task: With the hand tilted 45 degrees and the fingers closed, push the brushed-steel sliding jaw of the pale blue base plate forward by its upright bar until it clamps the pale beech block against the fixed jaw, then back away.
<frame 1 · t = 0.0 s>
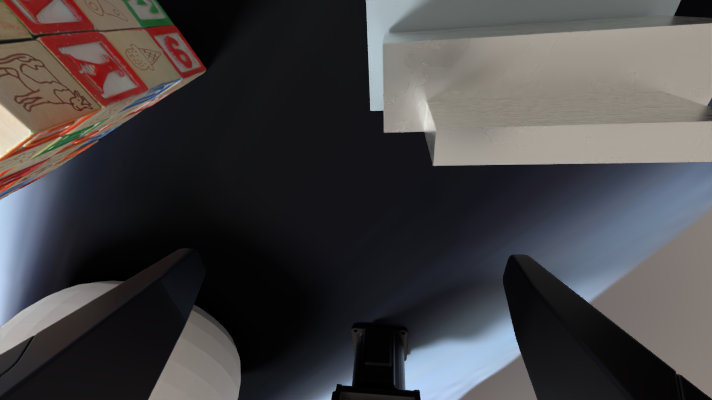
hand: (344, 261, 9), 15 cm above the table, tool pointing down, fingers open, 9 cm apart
sliding jaw: (536, 81, 14), point 6 cm above the table, slide at 0.0 cm
stack of blocks: (82, 96, 23), on the table
pot: (160, 330, 41), on the table
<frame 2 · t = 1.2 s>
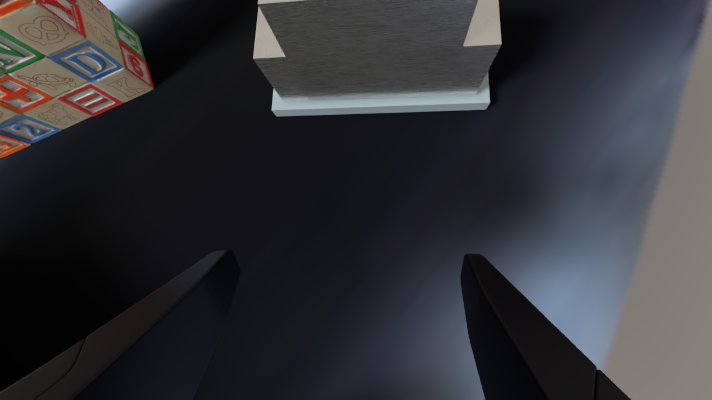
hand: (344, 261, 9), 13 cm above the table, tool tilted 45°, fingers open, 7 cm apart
sliding jaw: (372, 29, 18), point 6 cm above the table, slide at 0.0 cm
stack of blocks: (46, 111, 27), on the table
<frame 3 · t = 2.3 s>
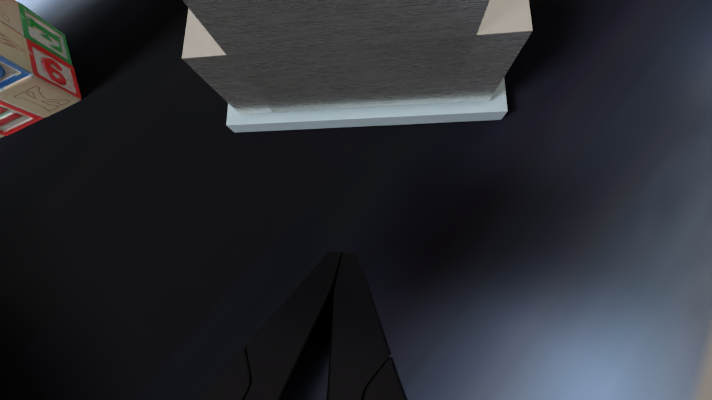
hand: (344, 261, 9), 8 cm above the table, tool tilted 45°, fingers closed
sliding jaw: (348, 15, 13), point 6 cm above the table, slide at 0.0 cm
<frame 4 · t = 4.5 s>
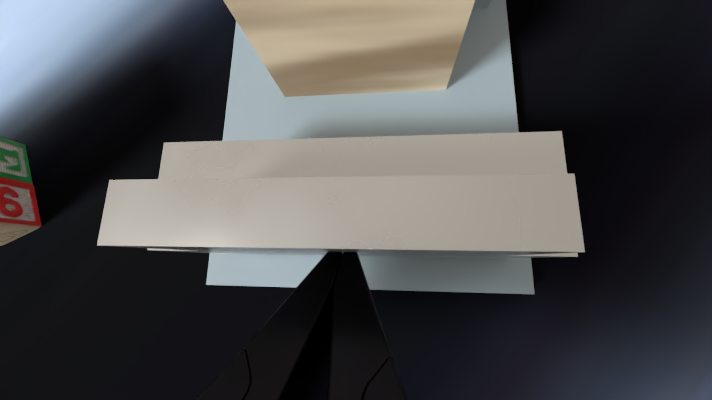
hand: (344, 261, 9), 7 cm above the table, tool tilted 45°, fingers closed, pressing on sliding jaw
beech block: (363, 61, 17), point 1 cm above the table, touching pale blue base plate
sliding jaw: (349, 197, 11), point 6 cm above the table, slide at 1.1 cm, touching gripper
pale blue base plate: (364, 102, 18), on the table
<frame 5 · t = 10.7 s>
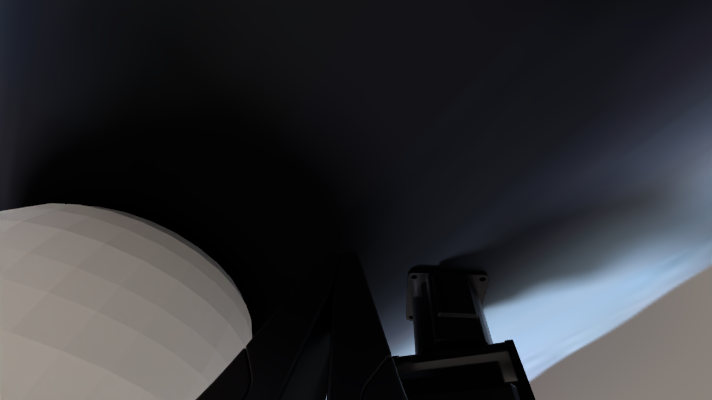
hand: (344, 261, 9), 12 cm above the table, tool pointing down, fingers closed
pot: (145, 287, 31), on the table
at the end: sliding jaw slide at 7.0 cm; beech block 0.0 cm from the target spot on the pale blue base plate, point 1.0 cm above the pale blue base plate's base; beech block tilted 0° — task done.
